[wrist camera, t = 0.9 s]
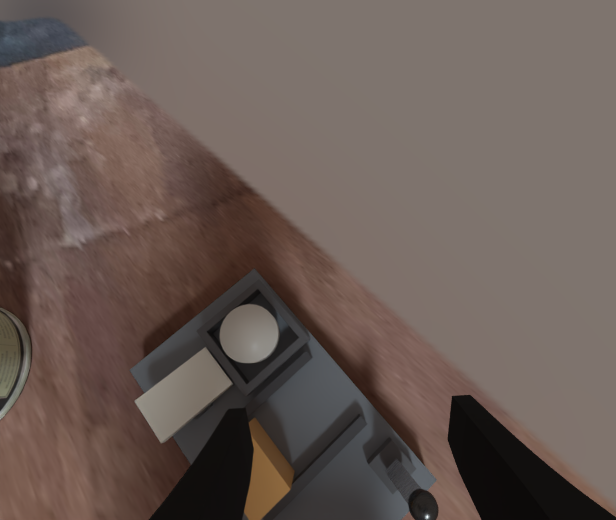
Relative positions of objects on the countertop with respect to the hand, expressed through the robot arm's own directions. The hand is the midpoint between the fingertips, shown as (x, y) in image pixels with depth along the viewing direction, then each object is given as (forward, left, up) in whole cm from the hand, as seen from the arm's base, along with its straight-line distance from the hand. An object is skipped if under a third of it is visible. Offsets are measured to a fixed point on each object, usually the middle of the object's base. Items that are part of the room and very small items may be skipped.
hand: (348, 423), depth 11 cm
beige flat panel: (-7, +6, -10) cm, 13 cm away
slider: (-6, 0, -10) cm, 12 cm away
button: (-2, +6, -9) cm, 11 cm away
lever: (0, -5, -9) cm, 11 cm away
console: (-4, +1, -12) cm, 13 cm away
